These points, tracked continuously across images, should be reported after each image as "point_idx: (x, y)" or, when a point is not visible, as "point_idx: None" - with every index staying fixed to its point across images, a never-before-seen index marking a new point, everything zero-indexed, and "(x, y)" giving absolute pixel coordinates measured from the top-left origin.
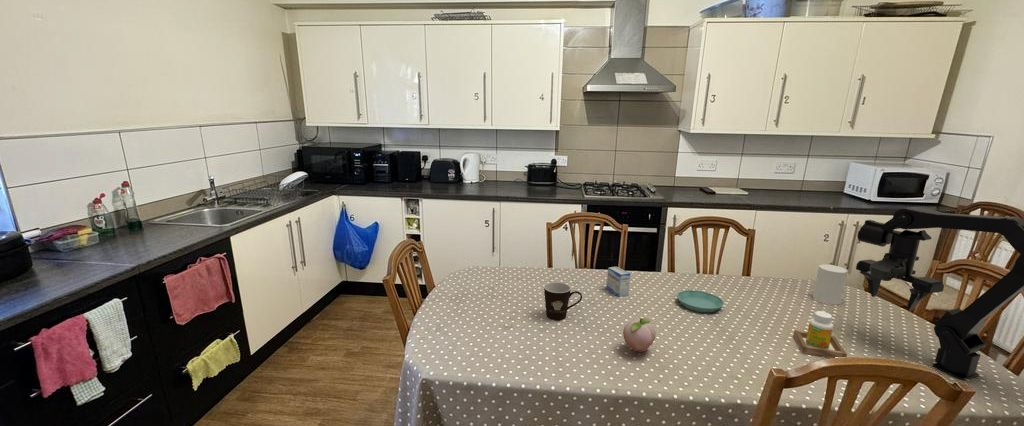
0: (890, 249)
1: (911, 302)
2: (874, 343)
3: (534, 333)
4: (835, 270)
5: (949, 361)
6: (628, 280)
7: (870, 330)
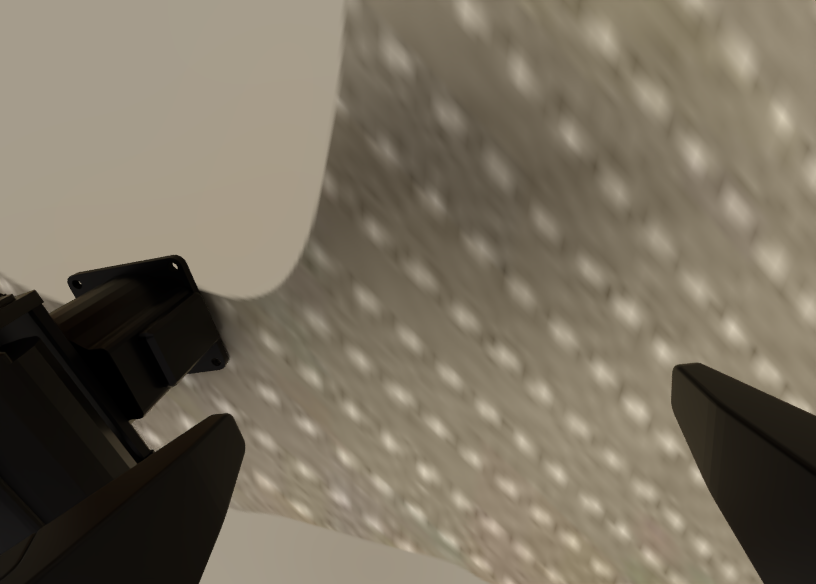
0: None
1: (92, 506)
2: (422, 151)
3: None
4: None
5: (86, 296)
6: None
7: (578, 283)
